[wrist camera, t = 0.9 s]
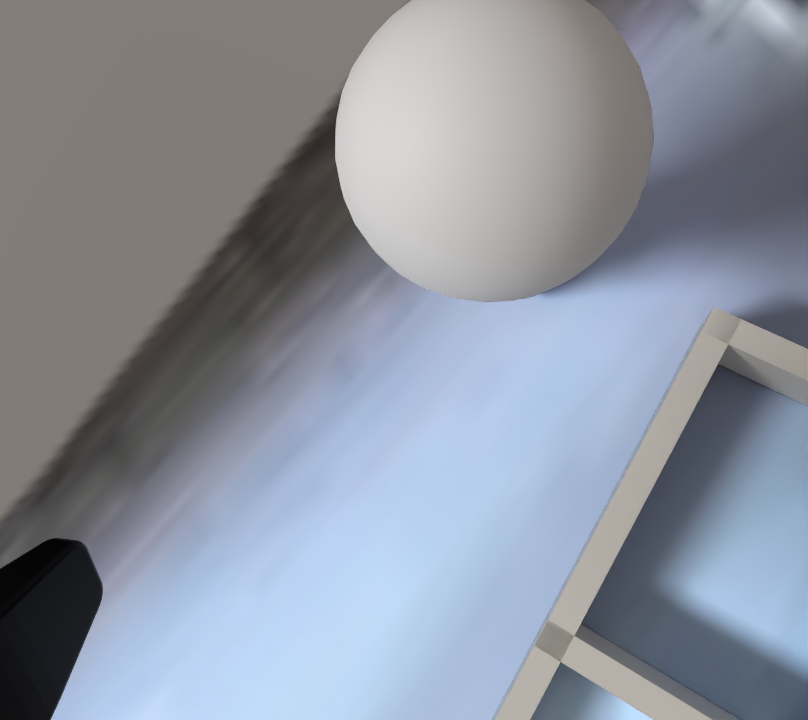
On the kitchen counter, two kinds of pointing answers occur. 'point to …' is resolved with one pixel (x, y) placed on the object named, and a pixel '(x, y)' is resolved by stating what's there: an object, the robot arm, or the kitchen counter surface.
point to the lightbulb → (493, 143)
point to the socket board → (562, 630)
